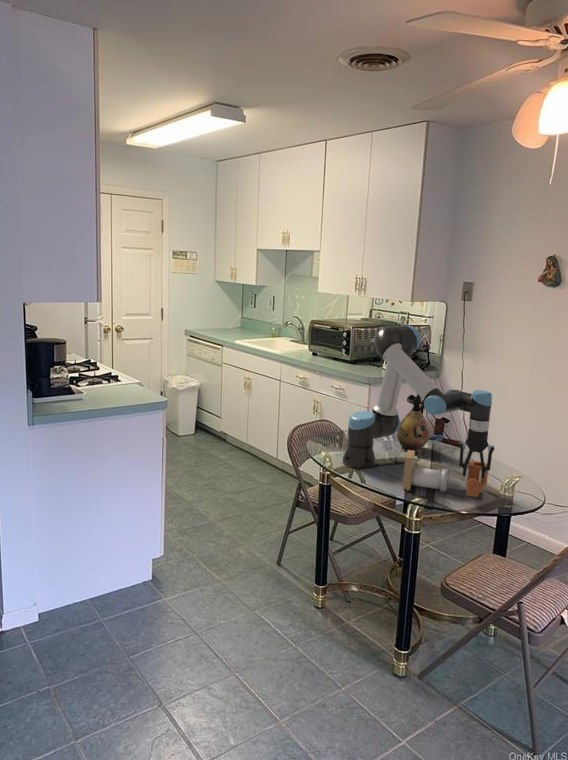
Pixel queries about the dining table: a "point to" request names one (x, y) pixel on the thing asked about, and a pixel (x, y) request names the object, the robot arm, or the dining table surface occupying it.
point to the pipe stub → (423, 475)
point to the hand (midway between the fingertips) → (472, 484)
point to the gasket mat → (462, 494)
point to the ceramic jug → (414, 427)
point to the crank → (475, 479)
